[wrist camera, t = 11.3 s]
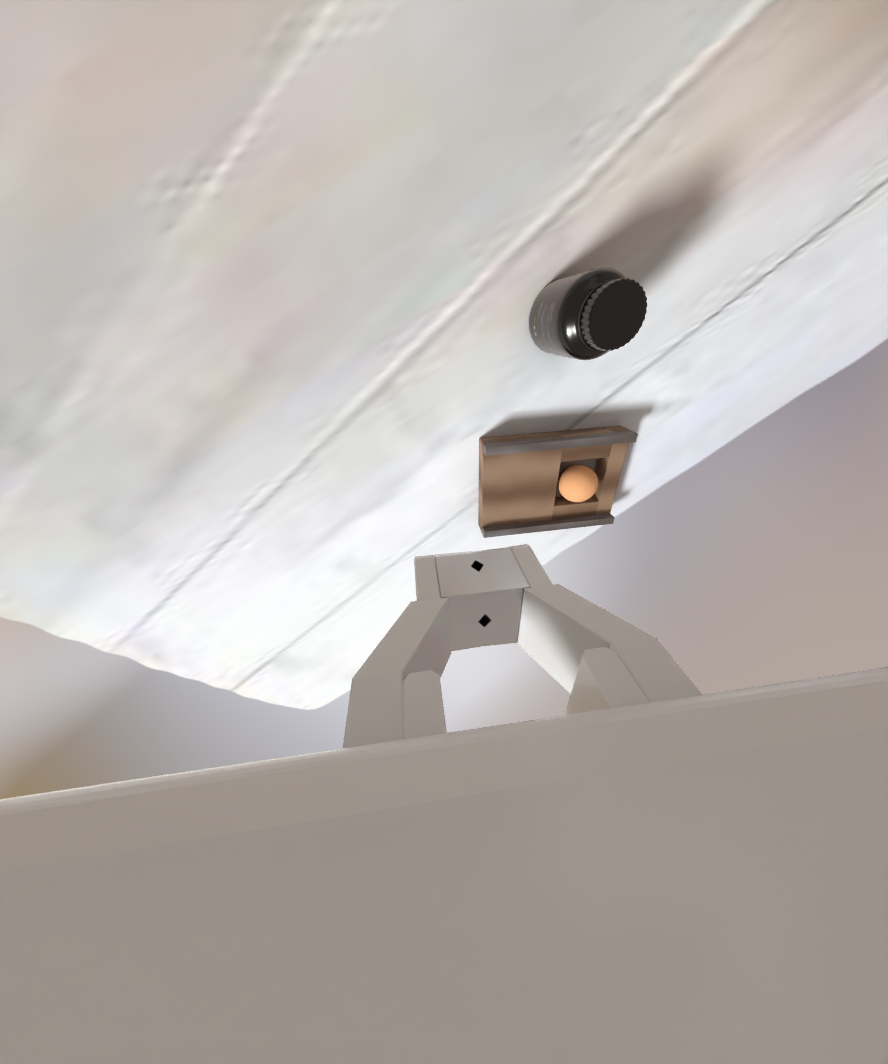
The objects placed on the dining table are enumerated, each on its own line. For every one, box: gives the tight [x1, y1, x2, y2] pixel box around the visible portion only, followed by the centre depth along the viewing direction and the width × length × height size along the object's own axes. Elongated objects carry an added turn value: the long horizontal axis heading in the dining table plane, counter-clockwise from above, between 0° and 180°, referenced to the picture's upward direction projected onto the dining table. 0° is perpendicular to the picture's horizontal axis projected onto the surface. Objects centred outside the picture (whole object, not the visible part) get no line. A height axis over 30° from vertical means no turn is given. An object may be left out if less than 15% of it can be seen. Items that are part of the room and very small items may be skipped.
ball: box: [558, 465, 598, 502], centre depth 44 cm, size 5×5×5 cm
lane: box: [479, 426, 638, 538], centre depth 44 cm, size 13×19×4 cm
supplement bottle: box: [529, 268, 647, 360], centre depth 31 cm, size 7×7×12 cm
